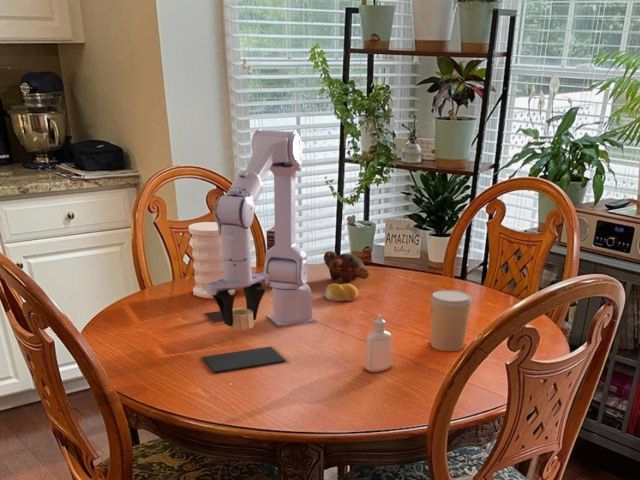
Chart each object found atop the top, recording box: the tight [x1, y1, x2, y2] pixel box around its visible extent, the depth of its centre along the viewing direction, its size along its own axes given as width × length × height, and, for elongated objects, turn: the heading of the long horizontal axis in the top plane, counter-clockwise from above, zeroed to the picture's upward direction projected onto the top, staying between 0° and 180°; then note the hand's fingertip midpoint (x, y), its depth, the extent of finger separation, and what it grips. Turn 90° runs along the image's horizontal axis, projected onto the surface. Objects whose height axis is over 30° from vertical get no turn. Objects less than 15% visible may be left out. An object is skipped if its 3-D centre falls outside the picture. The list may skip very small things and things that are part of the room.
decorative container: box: [188, 221, 236, 299], centre depth 194 cm, size 12×12×18 cm
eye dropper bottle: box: [365, 313, 393, 373], centre depth 152 cm, size 4×6×12 cm
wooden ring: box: [226, 307, 255, 331], centre depth 154 cm, size 6×6×3 cm
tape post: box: [204, 310, 225, 324], centre depth 180 cm, size 8×8×5 cm
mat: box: [202, 346, 286, 374], centre depth 157 cm, size 16×9×1 cm, turn 117°
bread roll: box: [324, 283, 359, 302], centre depth 198 cm, size 8×9×4 cm
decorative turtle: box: [323, 250, 370, 284], centre depth 211 cm, size 10×15×8 cm, turn 67°
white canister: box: [430, 289, 473, 352], centre depth 166 cm, size 9×9×12 cm
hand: (240, 321), depth 154 cm, fingers closed on wooden ring, 5 cm apart
